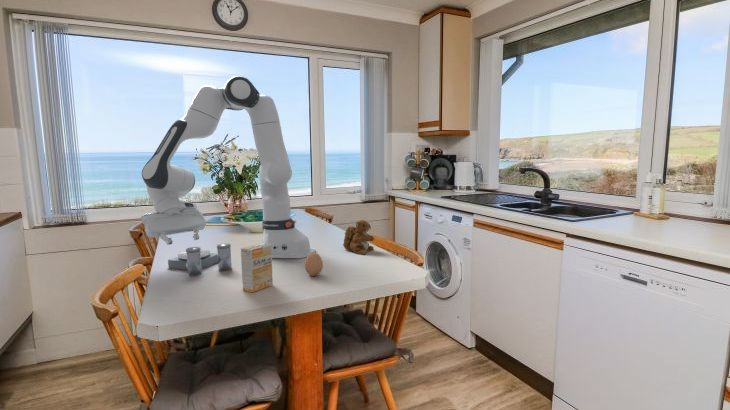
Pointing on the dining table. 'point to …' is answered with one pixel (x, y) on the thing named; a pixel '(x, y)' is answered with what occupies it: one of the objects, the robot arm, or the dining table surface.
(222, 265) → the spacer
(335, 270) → the dining table surface
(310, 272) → the egg
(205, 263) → the scale
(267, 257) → the supplement box
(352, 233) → the stuffed squirrel
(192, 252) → the cylinder
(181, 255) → the pan
